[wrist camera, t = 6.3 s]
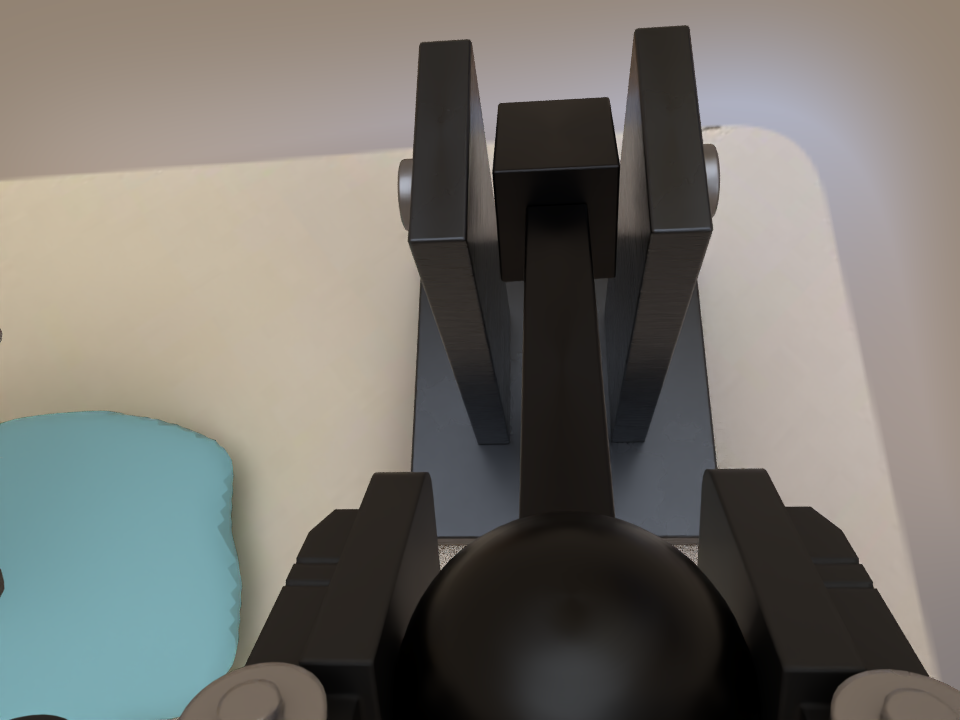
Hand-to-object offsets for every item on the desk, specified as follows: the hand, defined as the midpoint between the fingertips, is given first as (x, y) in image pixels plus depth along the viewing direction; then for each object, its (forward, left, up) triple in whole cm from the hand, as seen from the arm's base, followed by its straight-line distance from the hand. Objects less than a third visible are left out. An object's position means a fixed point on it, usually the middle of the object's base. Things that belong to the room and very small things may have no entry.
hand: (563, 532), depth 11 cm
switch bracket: (0, -7, -13) cm, 15 cm away
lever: (0, -2, -2) cm, 2 cm away
